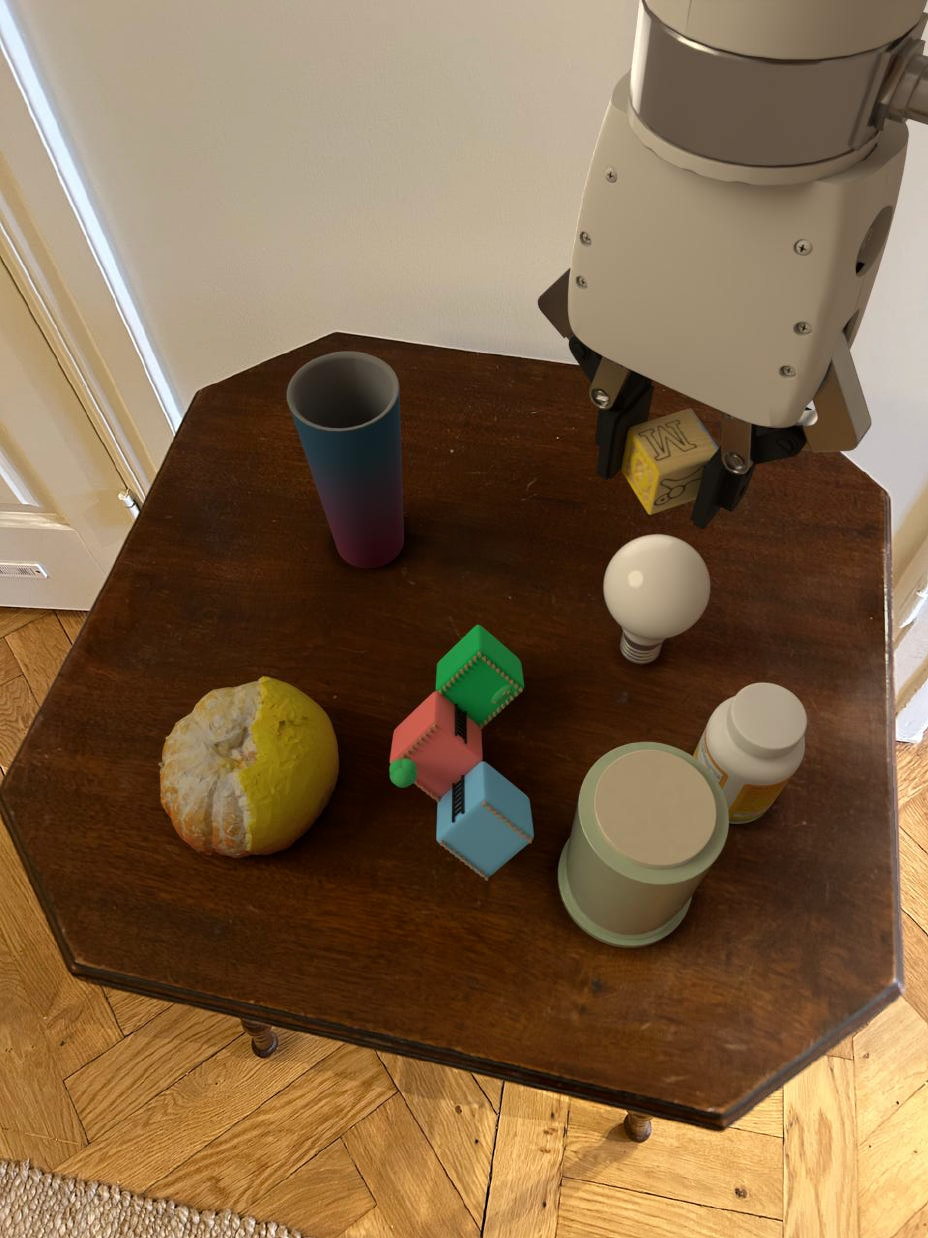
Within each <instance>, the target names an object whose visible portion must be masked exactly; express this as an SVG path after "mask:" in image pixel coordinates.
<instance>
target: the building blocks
mask: <svg viewBox="0 0 928 1238" xmlns="http://www.w3.org/2000/svg"><path fill="white" fill-rule="evenodd" d="M524 689H525V681H524V674H523V665H522V662H521V660H520V659H519V657H518V656H516V655H515V653H513V652H512V651H511V650H510V649H508V647H507V646H505V645H504V644H503V643H502V642H501V641H500V640H498V638H496V637H495V636H494V635H492V634H491V633H490V632H489V631H488V630H487V629H486V628H485V627H483V626H482V625H480V624H476V625H475V626H474V627H472V628H471V630H469V631H468V633H466V634H465V635H464V636H463V638H461V639H460V640H459V641H458V642H457V643H456V644H455V645H453V647H452V648H451V649H450V650H449V651H448V652H447V653H446V654H445V655H444V656H443V657H442V658H441V659H440V660H439V661H438V662H437V663H436V674H435V691H433V692H431V694H430V695H429V696H428V697H426V699H424V700H423V701H422V702H421V703H420V704H419V705H417V707H416V708H415V709H414V710H413V711H412V712H411V713H410V714H409V715H408V716H407V717H406V718H405V719H404V720H403V721H402V722H401V723H400V724H399V725H397V726H396V728H395V729H394V730H393V734H392V742H391V749H390V754H389V755H390V756H389V764H390V765H389V767H388V768H389V769H388V770H389V779H390V781H391V783H393V785H395V786H396V787H398V788H402V789H403V788H408V787H410V786H411V785H413V784H414V785H415V786H416V787H417V788H419V789H421V791H422V792H425V793H426V795H427V796H429V797H431V799H433V800H435V801H436V803H437V807H436V809H437V811H436V833H435V834H436V837H435V839H436V841H437V843H438V844H439V846H440V847H443V848H444V850H446V851H449V854H450V855H454V857H455V858H457V859H459V861H460V862H463V863H464V866H468V867H469V869H470V870H473V871H474V873H475V874H477V875H479V877H480V878H484V881H486V882H487V881H489V878H490V877H491V876H492V875H494V874H495V873H496V872H498V871H499V870H500V869H501V868H502V867H503V866H504V865H505V864H506V863H508V862H509V861H510V860H511V859H512V858H513V857H515V856H516V855H517V854H518V853H519V852H520V851H522V850H523V849H524V848H525V847H526V846H527V845H529V844H532V843H533V842H532V841H533V840H534V837H535V833H534V823H533V817H532V809H531V802H530V798H529V797H528V795H526V793H524V792H523V791H521V789H519V788H518V787H517V786H515V785H514V784H513V783H512V782H511V781H509V780H508V779H507V778H506V777H504V775H503V774H501V773H500V772H499V771H498V770H496V769H495V768H494V767H493V766H491V765H490V764H489V763H488V762H486V761H483V738H482V737H483V736H482V730H483V729H484V727H485V726H487V725H488V723H490V722H491V721H492V720H493V719H494V718H496V717H497V715H498V714H500V713H501V712H502V710H504V709H505V708H506V707H507V706H508V705H510V703H511V702H512V701H514V699H515V698H517V697H518V696H519V695H520V694H521V693H522V692H523V691H524Z"/></svg>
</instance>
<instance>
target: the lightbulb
mask: <svg viewBox="0 0 928 1238" xmlns="http://www.w3.org/2000/svg"><path fill="white" fill-rule="evenodd" d="M604 573H605V574H604V576H603V584H602V585H603V586H602V588H603V590H602V591H603V597H604V602H605V605H606V607H607V610H608V611H609V614H610V615H611V616H612V618H613V619H614V620H615V622H616V623H617V624H618V625H619V626H620V627H621V629H622V634H621V637H620V643H619V650H620V652H621V654H622V656H623V657H624V658H625V659H626V660H627V661H629V662H631V663H633V664H636V665H648V664H651V663H653V662H655V661H656V660H657V658H658V657H659V655H660V653H661V649H662V646H663V642H664V641H665V640H667V639H670V638H674V637H677V636H679V635H681V634H682V633H683V634H684V632H686V631H688V630H689V629H691V628H692V627H693V626H694V625H695V624H696V623H697V622H698V621H699V620H700V619H701V617H702V616H703V614H704V612H705V611H706V609H707V606H708V604H709V601H710V597H711V587H712V586H711V576H710V573H709V569H708V566H707V564H706V562H705V561H704V558H703V557H702V556H701V555H700V553H699V552H698V551H697V550H696V549H695V548H694V547H693V546H692V545H690V544H689V543H688V542H687V541H684V540H683V539H681V538H678V537H675V536H673V535H668V534H662V533H654V534H653V533H652V534H646V535H642V536H638V537H637V538H634V539H632V540H630V541H628V542H627V543H625V544H624V545H623V546H621V547H620V549H618V550H617V551H616V552H615V554H614V555H613V556H612V558H611V559H610V560H609V562H608V564H607V566H606V569H605V572H604Z"/></svg>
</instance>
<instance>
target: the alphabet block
mask: <svg viewBox="0 0 928 1238" xmlns="http://www.w3.org/2000/svg"><path fill="white" fill-rule="evenodd" d="M719 447H720V446H718V445H717V443H716V441H714V439H713V437H712V436H711V435H710V433H709V431H708V430H707V428H706V427H705V426H704V424H703V422H702V421H701V420H700V418H699V417H698V416H697V415H696V413H695V411H694V410H693V409H692V408H686V409H683V410H680V411H678V412H675V413H671V414H667V415H664V416H661V417H657V418H655V419H651V420H648V422H645V423H642V424H638V425H635V426H632V427H630V428H629V429H628V433H627V438H626V444H625V451H624V456H623V462H622V468H621V470H620V471H621V473H622V474H623V476H624V477H625V479H626V481H627V483H628V484H629V486H630V487H631V489H632V490H633V492H634V494H635V496H636V497H637V499H638V500H639V502H640V503H641V505H642V506H643V508H644V510H645V512H646V513H647V515H649V516H651V515H654V514H658V513H660V512H663V511H666V510H668V509H672V508H675V507H677V506H681V505H683V504H687V503H689V502H692V501H695V500H696V497H697V493H698V490H699V486H700V483H701V479H702V476H703V472H704V469H705V466H706V464H707V463H708V461H709V460H710V459H711V457H712V456H713V455H714V454H715V452H716V451H717V450H718V449H719Z"/></svg>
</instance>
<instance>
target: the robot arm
mask: <svg viewBox="0 0 928 1238" xmlns="http://www.w3.org/2000/svg"><path fill="white" fill-rule="evenodd" d="M927 4H928V0H639V4H638V13H637V21H636V28H635V37H634V44H633V45H634V46H633V53H632V54H633V55H632V63H631V67H630V69H629V70H628V71H627V72H626V73H625V74H623V76H622V77H621V78H620V79H619V80H618V81H617V83H615V86H614V88H613V90H612V93H611V96H610V99H609V102H608V104H607V108H606V111H605V114H604V116H603V120H602V122H601V126H600V129H599V132H598V136H597V139H596V141H595V146H594V149H593V154H592V156H591V159H590V163H589V168H588V172H587V175H586V180H585V183H584V188H583V192H582V196H581V202H580V207H579V213H578V217H577V222H576V228H575V234H574V239H573V247H572V252H571V261H570V267H569V268H567V270H566V271H565V272H563V273H562V275H560V276H559V278H557V279H556V280H555V281H554V282H553V283H552V284H551V285H550V286H548V288H547V289H546V290H545V291H544V292H543V293H541V295H539V296H538V298H537V307H538V309H539V311H540V312H541V313H542V314H543V316H544V317H545V318H546V319H547V320H548V322H549V323H550V324H551V325H552V326H553V328H555V330H556V331H557V332H558V333H559V335H560V336H561V337H562V338H563V339H567V341H568V349H569V351H570V353H571V355H572V356H573V358H574V360H575V361H576V362H577V364H578V365H579V367H580V368H581V370H582V372H583V373H584V375H585V376H586V377H587V379H588V381H589V382H590V387H589V389H588V398H589V399H590V402H591V403H592V404H593V405H594V406H595V407H596V408H598V412H597V420H596V429H595V434H594V435H595V436H594V444H595V445H596V446H598V447H599V451H598V458H597V466H596V473H595V474H596V476H598V477H600V478H602V479H604V480H606V481H607V480H609V479H610V480H613V479H614V478H615V477H616V476H617V475H618V473H619V472H620V471H622V470H621V468H622V462H623V456H624V451H625V444H626V438H627V433H628V429H629V428H630V427H632V426H635V425H638V424H642V423H645V422H648V421H649V418H650V411H651V407H652V401H653V396H654V390H655V385H654V384H653V381H654V382H657V383H659V384H660V385H662V386H663V385H664V386H665V387H667V388H669V389H671V390H674V391H676V392H678V393H680V394H682V395H685V396H687V397H689V398H691V399H693V400H695V401H698V402H700V403H702V404H704V405H706V406H709V407H711V408H713V409H716V410H718V411H720V412H721V442H720V446H718V447H719V449H718V450H717V451H716V452H715V454H714V455H713V456H712V457H711V459H710V460H709V461H708V463H707V464H706V466H705V469H704V472H703V476H702V479H701V483H700V486H699V490H698V493H697V497H696V500H694V504H693V508H692V512H691V515H690V521H692V526H694V527H697V528H699V529H701V530H704V531H705V529H706V528H707V527H708V526H709V524H710V523H711V521H712V520H713V519H714V517H715V516H716V515H717V514H718V512H719V511H720V510H721V508H722V509H723V510H726V511H727V512H728V513H729V512H730V513H732V512H733V511H734V510H735V509H736V508H737V507H738V506H739V504H740V503H741V501H742V499H743V498H744V496H745V495H746V493H747V491H748V489H749V486H750V483H751V480H752V477H753V474H754V471H755V469H756V466H757V465H759V464H765V463H769V462H774V461H778V460H779V461H780V460H783V459H787V458H792V457H796V456H798V455H799V454H800V453H801V452H805V451H806V452H809V451H810V454H811V453H812V454H813V453H814V454H815V453H833V452H834V453H835V452H837V453H839V452H850V451H854V450H855V449H856V448H858V446H859V445H860V443H861V441H862V440H863V439H864V437H865V436H866V435H867V433H868V431H870V429H871V426H872V424H873V423H872V417H871V415H870V411H869V407H868V405H867V401H866V398H865V395H864V391H863V388H862V385H861V381H860V379H859V374H858V371H857V368H856V366H855V362H854V360H853V356H852V352H851V349H852V346H853V344H854V342H855V340H856V337H857V335H858V332H859V330H860V328H861V324H862V321H863V318H864V317H865V313H866V309H867V306H868V303H869V300H870V297H871V294H872V291H873V289H874V285H875V282H876V278H877V275H878V273H879V270H880V266H881V263H882V260H883V256H884V253H885V249H886V246H887V243H888V241H889V236H890V233H891V228H892V224H893V221H894V216H895V214H896V208H897V205H898V200H899V195H900V191H901V186H902V182H903V176H904V171H905V165H906V160H907V153H908V152H907V151H908V146H909V137H910V131H909V127H908V125H907V122H908V120H911V121H914V122H918V123H920V124H923V125H927V126H928V55H924V50H925V47H926V40H924V39H922V37H923V34H924V32H925V29H926V27H927V26H926V25H927V23H928V12H926V11H925V9H926V6H927ZM810 403H813V407H814V409H812V408H810V407H808V406H809V405H810Z"/></svg>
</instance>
